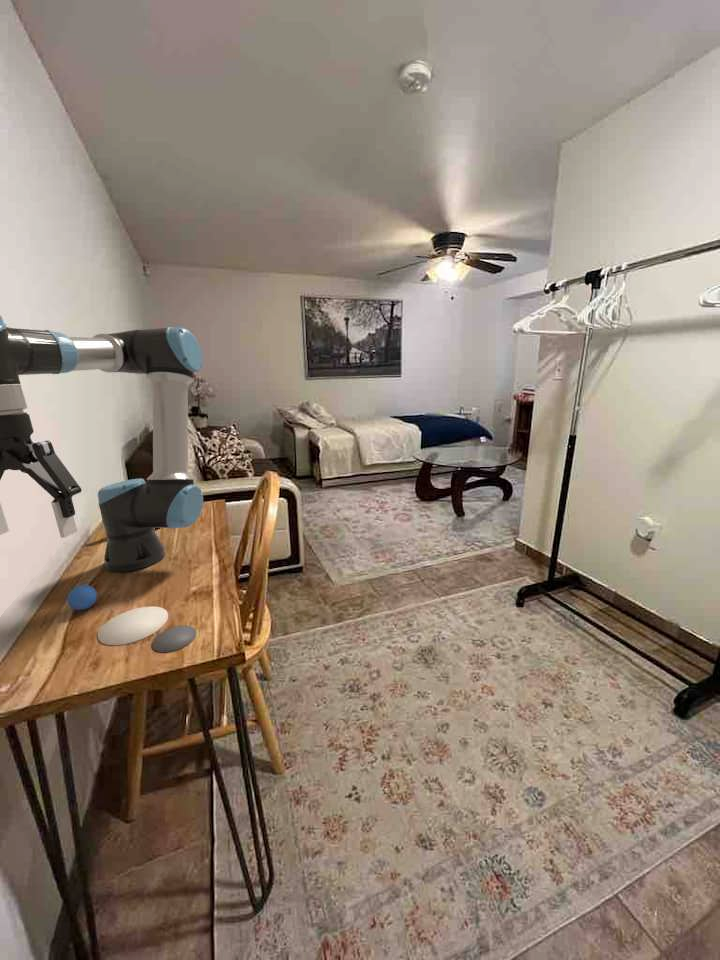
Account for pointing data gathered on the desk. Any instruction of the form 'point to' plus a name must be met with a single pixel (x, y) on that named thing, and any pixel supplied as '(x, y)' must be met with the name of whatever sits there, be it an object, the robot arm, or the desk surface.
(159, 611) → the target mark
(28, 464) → the robot arm
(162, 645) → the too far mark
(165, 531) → the desk surface
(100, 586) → the desk surface
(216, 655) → the desk surface
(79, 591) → the ball
